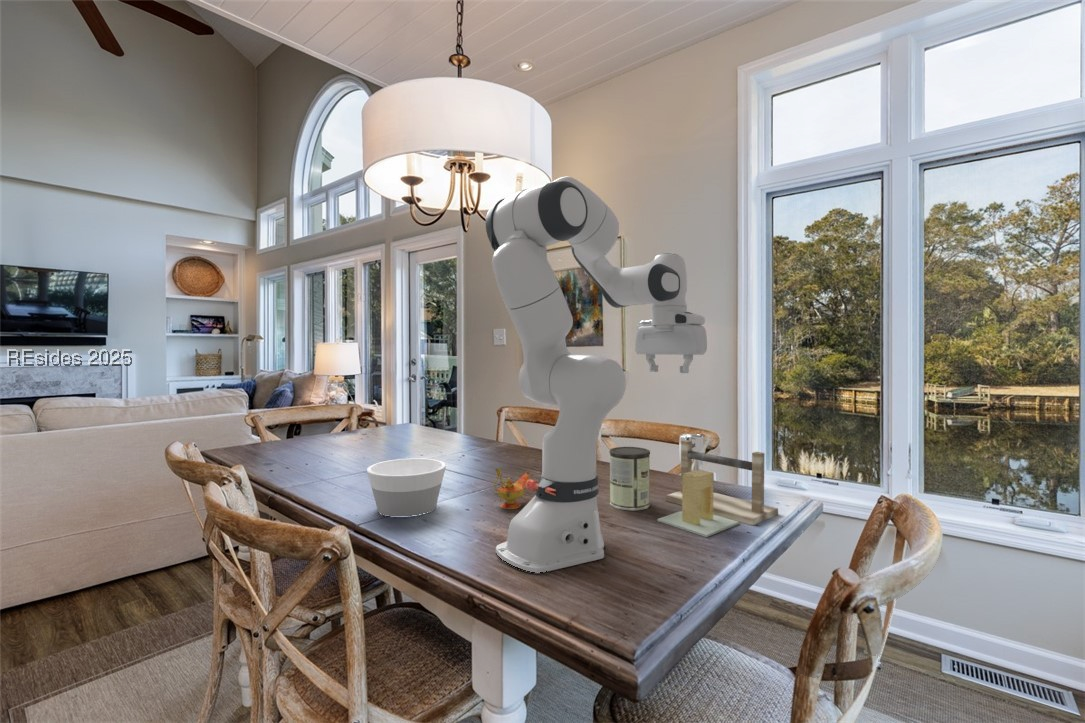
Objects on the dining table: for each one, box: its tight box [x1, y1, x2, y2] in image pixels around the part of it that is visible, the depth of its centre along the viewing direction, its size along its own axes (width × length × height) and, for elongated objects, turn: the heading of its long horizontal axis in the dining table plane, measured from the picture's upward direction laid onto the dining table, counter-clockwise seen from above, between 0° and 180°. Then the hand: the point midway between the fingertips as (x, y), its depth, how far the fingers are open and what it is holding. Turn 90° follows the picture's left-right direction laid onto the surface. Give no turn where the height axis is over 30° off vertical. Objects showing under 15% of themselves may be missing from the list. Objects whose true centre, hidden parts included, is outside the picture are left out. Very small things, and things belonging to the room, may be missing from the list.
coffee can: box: [608, 446, 651, 511], centre depth 129 cm, size 10×10×14 cm
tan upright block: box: [681, 469, 715, 526], centre depth 116 cm, size 6×4×11 cm, turn 129°
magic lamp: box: [494, 468, 533, 510], centre depth 130 cm, size 7×18×11 cm, turn 152°
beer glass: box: [678, 433, 705, 487], centre depth 146 cm, size 7×7×15 cm
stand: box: [665, 440, 779, 526], centre depth 127 cm, size 12×24×16 cm, turn 39°
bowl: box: [366, 457, 447, 516], centre depth 126 cm, size 19×19×11 cm
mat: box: [656, 510, 740, 538], centre depth 116 cm, size 13×13×1 cm
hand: (668, 372), depth 129 cm, fingers open, 8 cm apart
